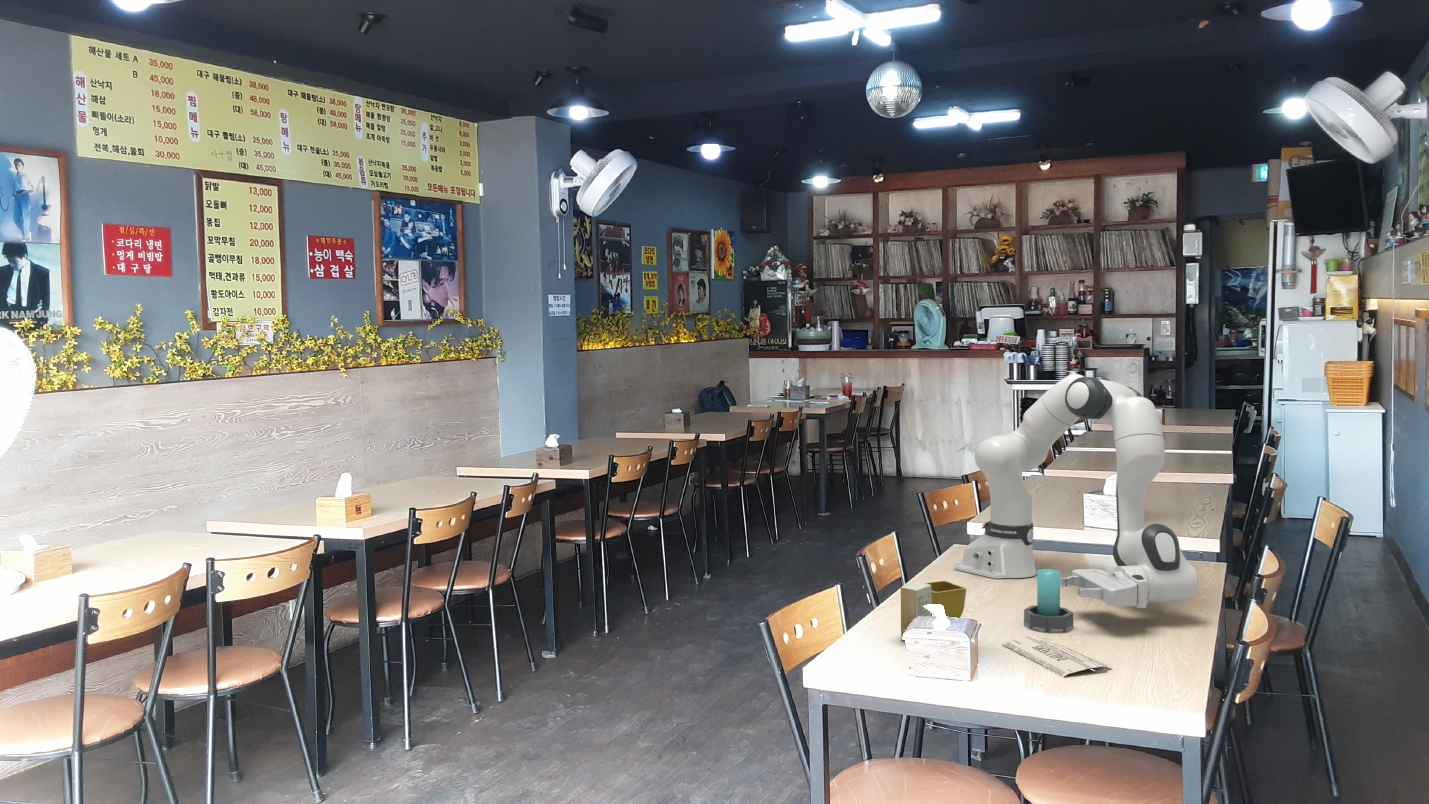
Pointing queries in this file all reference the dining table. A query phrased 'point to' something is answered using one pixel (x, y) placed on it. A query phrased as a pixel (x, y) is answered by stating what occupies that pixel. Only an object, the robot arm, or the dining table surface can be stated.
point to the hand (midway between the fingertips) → (1069, 587)
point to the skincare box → (914, 602)
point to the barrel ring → (1048, 620)
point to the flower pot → (948, 597)
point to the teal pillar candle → (1048, 592)
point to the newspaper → (1053, 655)
